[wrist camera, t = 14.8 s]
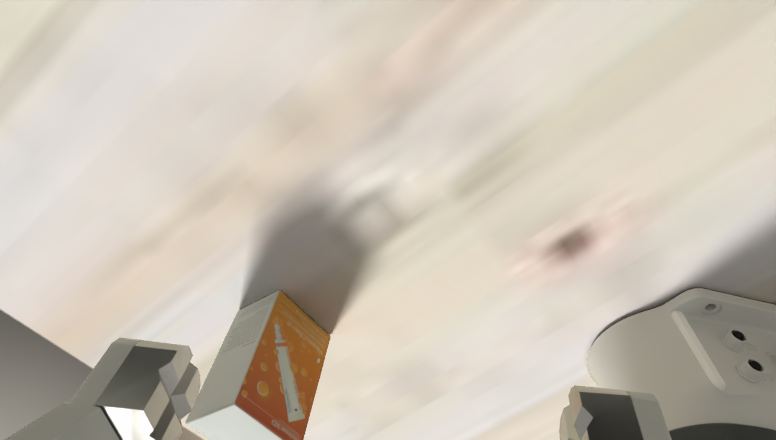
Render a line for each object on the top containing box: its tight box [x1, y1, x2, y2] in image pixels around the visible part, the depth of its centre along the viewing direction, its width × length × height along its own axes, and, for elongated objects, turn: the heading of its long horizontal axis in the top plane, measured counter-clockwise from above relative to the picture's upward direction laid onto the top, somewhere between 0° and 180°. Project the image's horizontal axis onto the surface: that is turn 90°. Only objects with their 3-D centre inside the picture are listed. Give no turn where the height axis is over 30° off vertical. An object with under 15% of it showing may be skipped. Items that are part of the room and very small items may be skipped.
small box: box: [186, 290, 330, 440], centre depth 47 cm, size 8×6×13 cm
